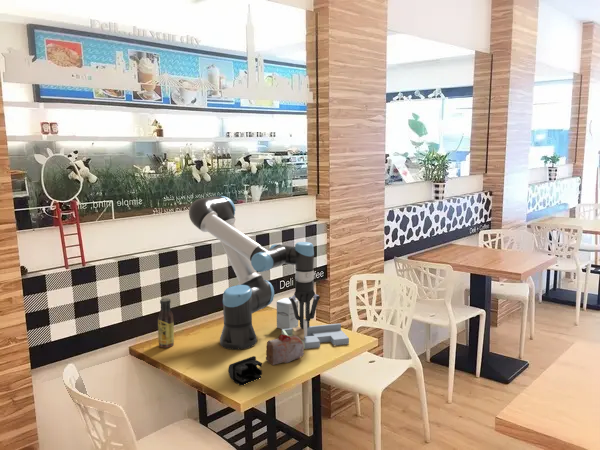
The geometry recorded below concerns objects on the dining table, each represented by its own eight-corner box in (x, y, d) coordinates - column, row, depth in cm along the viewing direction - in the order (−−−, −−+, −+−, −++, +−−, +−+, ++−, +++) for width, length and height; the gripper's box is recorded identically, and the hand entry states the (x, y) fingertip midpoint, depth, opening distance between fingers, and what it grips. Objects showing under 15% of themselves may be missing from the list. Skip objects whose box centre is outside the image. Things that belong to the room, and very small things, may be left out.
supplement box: (276, 328, 227) (275, 301, 224) (285, 323, 233) (285, 296, 231) (289, 331, 222) (289, 304, 220) (299, 326, 228) (298, 299, 226)
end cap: (251, 371, 184) (250, 353, 183) (263, 377, 179) (262, 359, 178) (228, 379, 177) (227, 361, 176) (240, 386, 172) (239, 368, 171)
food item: (294, 352, 200) (294, 328, 199) (305, 359, 194) (305, 335, 192) (264, 360, 193) (263, 335, 192) (274, 367, 187) (273, 342, 185)
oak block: (294, 340, 206) (294, 331, 205) (292, 336, 209) (292, 327, 209) (304, 339, 207) (304, 330, 206) (301, 335, 210) (301, 326, 210)
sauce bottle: (155, 345, 207) (153, 299, 204) (168, 341, 212) (166, 296, 209) (164, 350, 203) (162, 302, 200) (177, 345, 208) (175, 299, 204)
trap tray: (340, 334, 219) (340, 323, 218) (348, 343, 208) (349, 332, 207) (281, 340, 212) (281, 329, 211) (287, 350, 202) (287, 338, 201)
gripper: (291, 283, 199) (291, 340, 203) (322, 281, 203) (322, 336, 207) (286, 278, 207) (287, 333, 210) (317, 276, 210) (316, 330, 214)
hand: (304, 335), depth 209 cm, fingers closed
